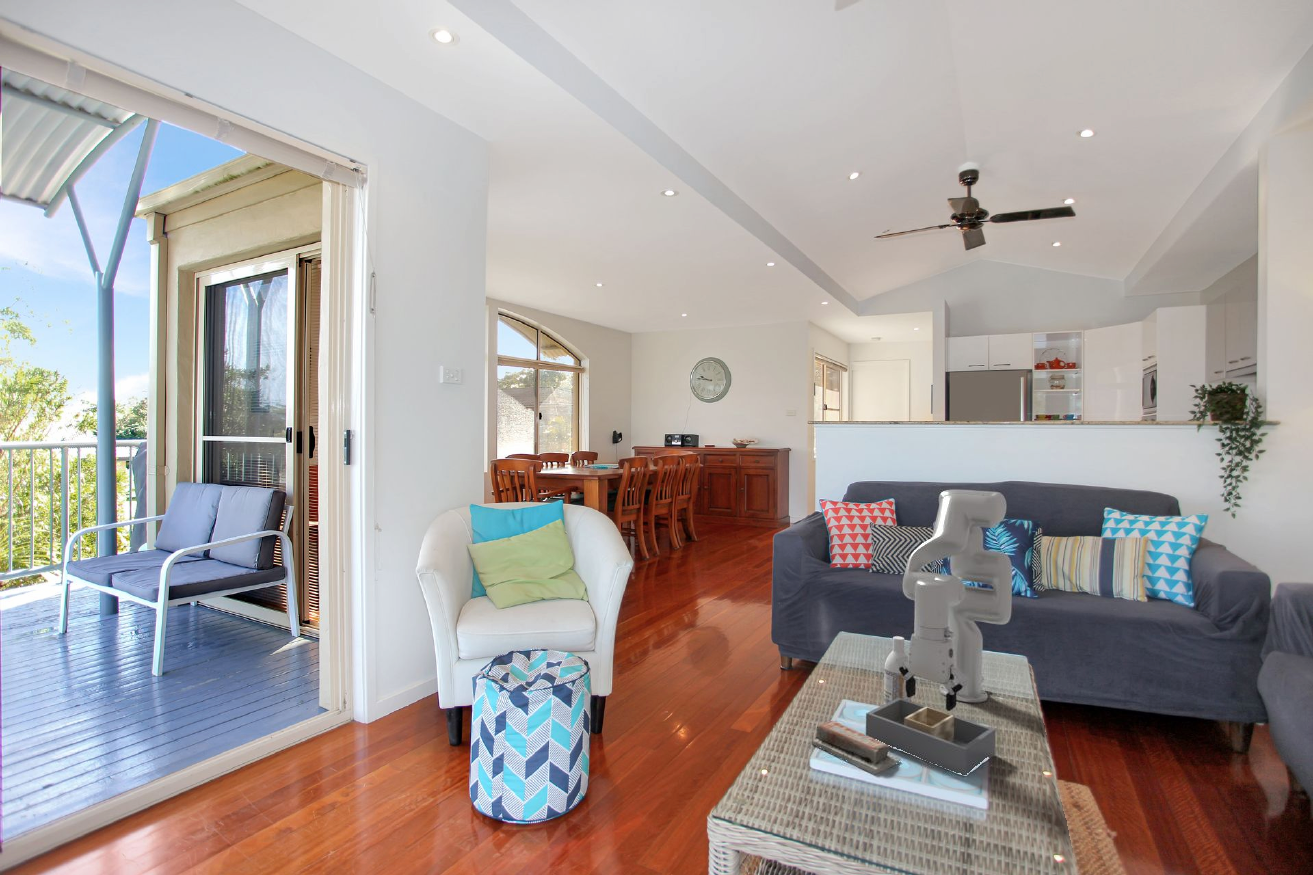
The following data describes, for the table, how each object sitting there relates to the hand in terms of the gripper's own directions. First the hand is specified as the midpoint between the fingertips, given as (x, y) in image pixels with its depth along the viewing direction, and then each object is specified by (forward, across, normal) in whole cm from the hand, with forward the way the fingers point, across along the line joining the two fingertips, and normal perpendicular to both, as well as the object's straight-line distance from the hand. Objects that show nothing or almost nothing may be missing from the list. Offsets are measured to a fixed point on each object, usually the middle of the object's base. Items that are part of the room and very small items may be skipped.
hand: (930, 702), depth 155 cm
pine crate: (+9, 0, +1) cm, 9 cm away
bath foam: (+11, +15, -12) cm, 22 cm away
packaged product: (+10, +9, +18) cm, 23 cm away
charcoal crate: (+10, 0, +1) cm, 10 cm away
